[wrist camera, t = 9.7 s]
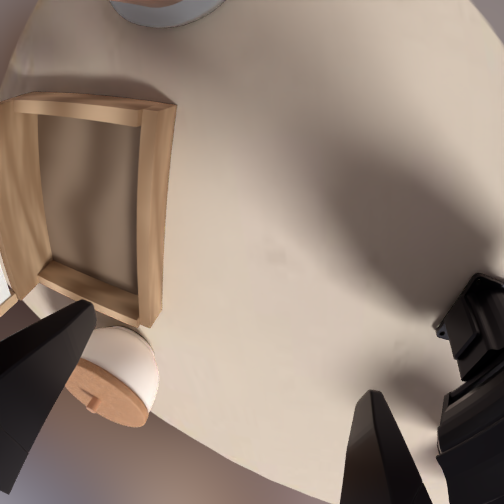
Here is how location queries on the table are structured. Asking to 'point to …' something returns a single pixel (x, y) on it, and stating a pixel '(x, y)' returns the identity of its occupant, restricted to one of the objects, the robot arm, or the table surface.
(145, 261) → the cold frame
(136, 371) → the lidded jar
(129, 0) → the tan cylindrical canister
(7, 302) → the lid
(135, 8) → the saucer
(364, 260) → the table surface
